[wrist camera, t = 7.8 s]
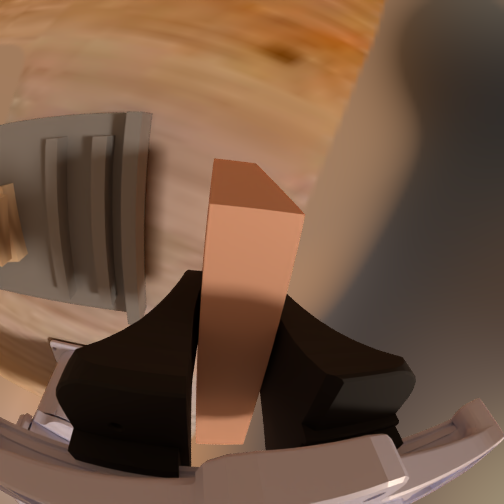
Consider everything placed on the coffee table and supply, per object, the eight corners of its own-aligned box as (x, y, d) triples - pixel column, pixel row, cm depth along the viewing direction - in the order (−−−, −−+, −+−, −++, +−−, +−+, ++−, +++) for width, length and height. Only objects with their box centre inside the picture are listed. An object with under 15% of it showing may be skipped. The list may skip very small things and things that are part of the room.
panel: (230, 329, 17) (243, 444, 10) (198, 327, 17) (196, 443, 10) (255, 163, 13) (305, 215, 6) (214, 158, 13) (209, 203, 6)
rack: (146, 306, 22) (140, 325, 20) (-2, 282, 19) (-15, 295, 17) (152, 113, 16) (142, 111, 14) (-19, 129, 13) (-37, 132, 11)
